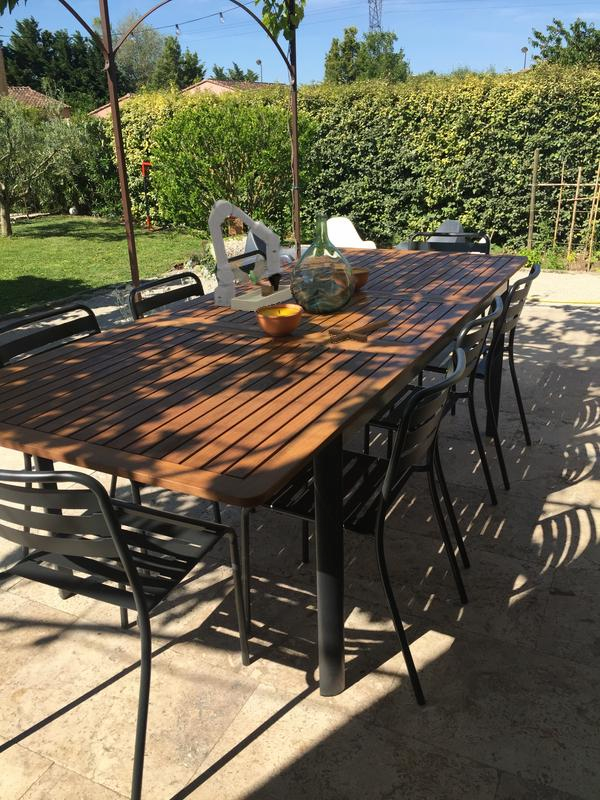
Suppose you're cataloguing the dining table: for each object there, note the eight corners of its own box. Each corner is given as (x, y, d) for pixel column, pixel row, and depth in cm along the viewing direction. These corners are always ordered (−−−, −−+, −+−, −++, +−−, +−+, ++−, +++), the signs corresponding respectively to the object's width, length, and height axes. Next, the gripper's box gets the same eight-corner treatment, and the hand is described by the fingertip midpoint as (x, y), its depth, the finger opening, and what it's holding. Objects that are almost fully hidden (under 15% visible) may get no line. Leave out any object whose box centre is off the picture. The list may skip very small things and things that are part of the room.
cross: (403, 322, 234) (350, 341, 214) (403, 328, 234) (350, 348, 215) (369, 316, 244) (315, 334, 225) (369, 322, 245) (315, 340, 226)
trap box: (256, 312, 268) (256, 301, 266) (231, 309, 274) (230, 299, 273) (295, 296, 294) (295, 286, 292) (271, 294, 300) (271, 284, 298)
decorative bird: (279, 269, 325) (265, 250, 313) (278, 284, 320) (263, 266, 308) (238, 281, 334) (223, 263, 323) (236, 296, 329) (221, 279, 318)
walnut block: (269, 296, 283) (268, 287, 281) (261, 296, 285) (261, 287, 283) (274, 295, 286) (273, 286, 285) (266, 294, 288) (266, 285, 286)
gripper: (272, 263, 277) (274, 294, 282) (289, 258, 289) (291, 288, 294) (258, 262, 281) (260, 293, 286) (276, 257, 292) (277, 287, 297)
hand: (275, 290), depth 290 cm, fingers closed
